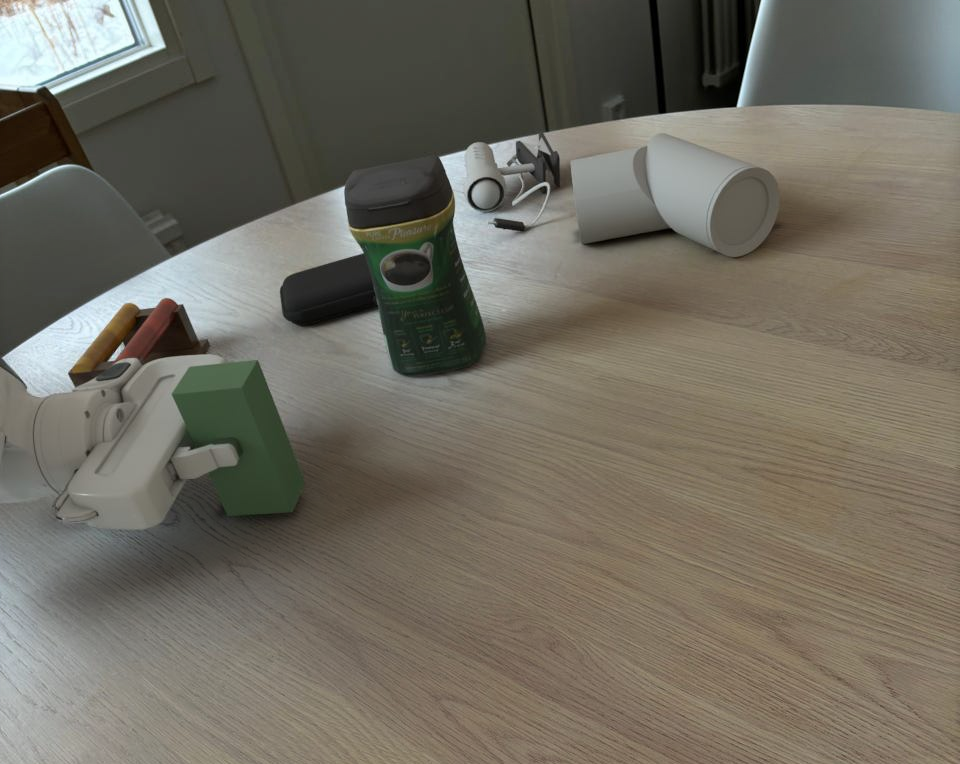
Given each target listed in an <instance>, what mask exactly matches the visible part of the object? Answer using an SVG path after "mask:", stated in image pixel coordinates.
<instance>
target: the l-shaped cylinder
mask: <svg viewBox="0 0 960 764" xmlns="http://www.w3.org/2000/svg"><path fill="white" fill-rule="evenodd" d="M570 173H571V181H572V190H573V198H574V206H575V214H576V220H577V227H578V228H577V229H578V233H579V239H580V244H581V245H585V244H591V243H596V242H601V241H607V240H612V239H618V238H624V237H629V236H635V235H639V234H646V233H651V232H656V231H662V230H668V229H672V230H673V231H674V232H676V233H677V234H678V235H681V236H683V237H685V238H687V239H690V240H692V241H693V242H696V243H698V244H701V245H702V246H704V247H706V248H709V249H711V250H713V251H715V252H717V253H720V254H721V255H724V256H726V257H730V258H738V257H743V256H745V255H748V254H750V253H751V252H753V251H755V250H756V249H757V248H758V247H759V246H761V244H762V243H764V241H765V240H766V238H767V237H768V236H769V234H770V232H771V231H772V230H773V227H774V226H775V223H776V221H777V217H778V214H779V211H780V210H779V209H780V202H781V194H780V193H781V192H780V187H779V184H778V182H777V179H776V178H775V176H774V175H773V174H772V172H770V171H769V170H768V169H765V168H764V167H761V166H759V165H755V164H753V163H749V162H746V161H743V160H741V159H738V158H735V157H733V156H729V155H727V154H724V153H721V152H719V151H716V150H713V149H710V148H708V147H705V146H702V145H699V144H696V143H693V142H692V141H691V142H690V141H687V140H685V139H682V138H679V137H676V136H673V135H671V134H668V133H664V132H661V133H657V134H655V135H653V136H652V137H651V138H650V140H649V141H648V144H647V145H644V146H638V147H633V148H629V149H623V150H618V151H612V152H608V153H607V152H606V153H602V154H597V155H593V156H588V157H582V158H578V159H571V160H570Z"/></svg>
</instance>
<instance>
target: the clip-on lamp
mask: <svg viewBox="0 0 960 764" xmlns="http://www.w3.org/2000/svg"><path fill="white" fill-rule="evenodd" d="M560 159H561V158H560V154H559V153H558V150H553V147H552V146H551V144H550V143H549V141H548V138H547V136H546V135H545V133H544V132H543V131H542V132H538V143H537V144H531V143H527V142H524V141H521V140H516V141H515V154H514V155H513V156H511V158H510V159H509V160H508V161H507V162H506V165H507V166H503V167H498V164H497V162H496V160H495V155H494V151H493V149H492V148H491V146H490V145H489V144H487V143H486V142H484V141H483V142H481V141H476V142H473V143H472V144H470V145H469V146H468V147H467V149H466V151H465V152H464V165H465V172H466V177H465V179H464V181H463V194H464V198H465V201H466V202H467V203H468V205H469V206H470V207H471V208H472V209H473V210H475V211H477V212H481V213H488V212H492V211H494V210H496V209H498V208H499V207H500V206H501V205H502V204H503V203H504V201H505V198H506V196H507V183H506V179H505V176H513V175H518V177H519V180H520V181H521V189H520V191H519V193H518V194H517V196H516V197H515V198H514V199H513V200H512V206H513V207H514V206H516V205H517V204H519V203H521V202H522V201H523V200H524V199H526V198H527V197H528V196H530V195H531V194H532V193H534V192H536V191H538V190H539V191H540V192H541V194H546V196H545V200H544V203H543V204H542V206H541V209H540V211H539V212H538V214H537V216H536V217H535V218H534V219H533V220H532V222H531V223H528V224H527V225H526V224H525V223H524V222H523V221H519V220H513V219H512V220H511V219H506V218H499V217H495V218H493V221H487V225H493V226H494V227H495V229H500V230H501V229H502V230H504V231H505V230H508V231H512V232H515V231H516V232H520V233H521V232H524V231H525V230H526V229H529V228H530V227H533V226H534V225H535V224H536V223H537V222H538V220H539V219H540V218H541V216H542V214H543V213H544V211H545V209H546V206H547V205H548V203H549V199H550V195H551V188H552V187H551V185H550V183H549V182H547V172H549V173H550V174H551V175H552V177H553V184H554V186H555V187H556V188H561V164H560ZM513 164H515V165H513ZM526 173H529V174H530V175H531V176H532V177H533V178H534V179H535V181H536V182H537V184H536V185H534V186H533V187H531V188H530V189H528V190H527V191H526V192H524V191H525V181H524V174H526Z"/></svg>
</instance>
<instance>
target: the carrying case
mask: <svg viewBox="0 0 960 764" xmlns="http://www.w3.org/2000/svg"><path fill="white" fill-rule="evenodd" d="M279 296H280V297H279V298H280V305H281V314H282V316H283V318H284V319H285V320H286V321H288V322H289V323H290V322H291V323H292V324H294V325H296V326H306V325H309V324H314V323H317V322H321V321H324V320H328V319H331V318H335V317H338V316H342V315H345V314H349V313H352V312H357V311H360V310H362V309H366V308H370V307H373V306H378V304H377V299H376V294H375V289H374V285H373V281H372V277H371V274H370V270H369V267H368V264H367V261H366V258H365V255H364V253H359V254H355V255H352V256H349V257H345V258H342V259H338V260H334V261H331V262H328V263H325V264H322V265H318V266H313V267H311V268H307V269H304V270H301V271H297V272H295V273H292V274H290V275H288V276H286V277H285V278H284V280H283V282H282V284H281V286H280V288H279Z"/></svg>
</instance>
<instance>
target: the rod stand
mask: <svg viewBox="0 0 960 764" xmlns="http://www.w3.org/2000/svg"><path fill="white" fill-rule="evenodd" d="M122 344H123V345H124V348H123V349H122V351H120V353H119V354H118V355H117V356H116V358H115V360H110V359H111V358H112V356H113V355H114V354H115V353H116V351H117V350H118V349H119V348H120V346H122ZM210 347H211V344H210V342H209V339H208V338H207V339H205V338H204V339H199V338H198V336H197V333H196V331H195V329H194V327H193V325H192V322H191V320H190V317H189V315H188V312H187V310H186V308H185V305H184V304H183V303H181V304H180V303H179V304H178V303H177V302H176V300H175V299H172V298H169V297H163V298H162V299H161V300H160V301H159V302H158V304H157V305H156V306H155V307H147V308H139V306H137V305H136V304H135V303H132V302H126V303H124V304H123V305H122V306H121V307H120V309H119V310H118V311H117V312H116V314H115V315H114V316H113V317H112V318H111V320H110V321H109V322H108V323H107V324H106V326H105V327H104V328H103V329H102V330H101V332H100V333H99V334H98V335H97V336H96V338H95V339H94V341H93V342H92V343H91V344H90V345H89V346H88V348H87V349H86V350H85V351H84V353H82V355H81V356H80V357H79V359H78V360H77V361H76V362H75V364H73V366H72V368H71V369H70V370H69V371H68V372H67V375H68V377H69V379H70V380H71V382H72V385H73V386H74V388H76V387H77V386H80V385H82V384H84V383H87V382H89V381H90V380H92V379H94V378H95V377H97V376H99V375H100V374H101V373H103V372H104V371H106V370H107V369H108V368H109V367H111V366H112V365H113V364H114V363H116V362H117V361H119V360H122V359H126V358H137V359H138V360H139V361H140V363H141V365H142V366H143V365H145V364H146V363H148V362H150V361H153V360H156V359H161V358H166V357H175V356H186V355H201V354H207V352H208V350H209V348H210ZM109 360H110V361H109Z"/></svg>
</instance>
